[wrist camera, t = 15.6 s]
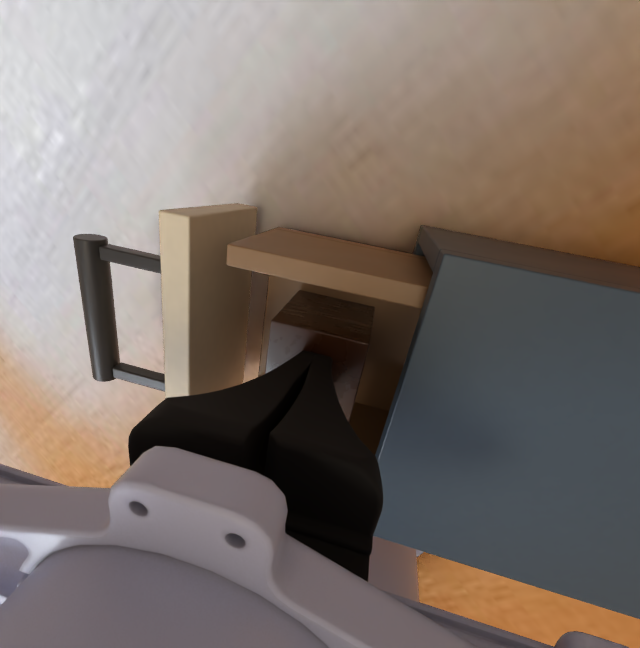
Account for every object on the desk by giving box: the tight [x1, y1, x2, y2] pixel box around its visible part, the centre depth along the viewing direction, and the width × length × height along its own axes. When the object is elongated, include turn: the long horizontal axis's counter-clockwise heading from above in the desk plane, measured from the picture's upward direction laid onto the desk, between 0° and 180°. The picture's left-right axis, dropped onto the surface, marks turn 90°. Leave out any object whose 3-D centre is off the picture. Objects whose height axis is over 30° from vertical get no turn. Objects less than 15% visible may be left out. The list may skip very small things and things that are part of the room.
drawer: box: [73, 203, 433, 455], centre depth 16 cm, size 16×11×6 cm
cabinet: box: [373, 225, 640, 619], centre depth 14 cm, size 13×12×8 cm
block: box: [265, 290, 375, 422], centre depth 16 cm, size 4×4×4 cm
